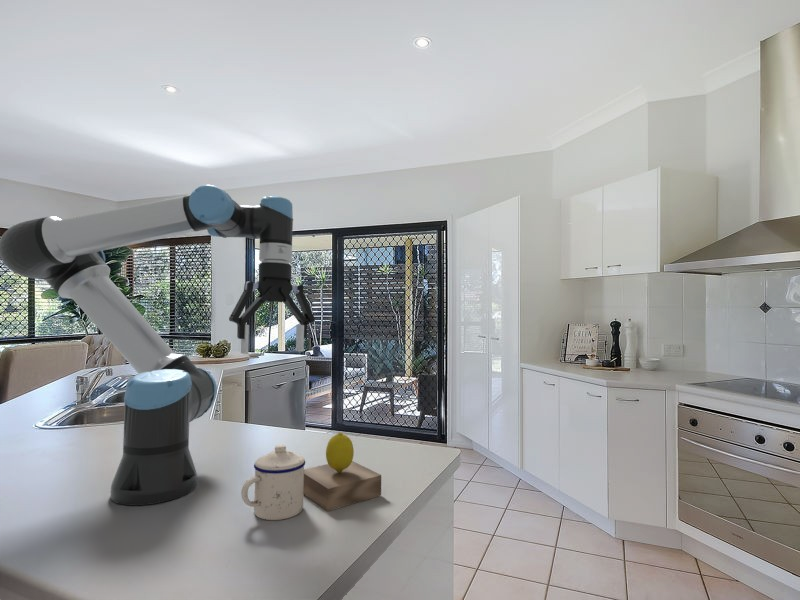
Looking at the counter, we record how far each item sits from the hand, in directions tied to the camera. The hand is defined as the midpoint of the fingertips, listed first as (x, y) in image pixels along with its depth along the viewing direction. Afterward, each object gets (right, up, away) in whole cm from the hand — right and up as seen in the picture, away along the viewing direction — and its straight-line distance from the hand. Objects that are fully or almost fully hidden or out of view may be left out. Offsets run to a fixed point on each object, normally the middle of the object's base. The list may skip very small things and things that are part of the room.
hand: (273, 352), depth 105 cm
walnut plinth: (+18, -26, -16) cm, 36 cm away
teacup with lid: (+7, -26, -25) cm, 37 cm away
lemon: (+18, -23, -16) cm, 33 cm away
